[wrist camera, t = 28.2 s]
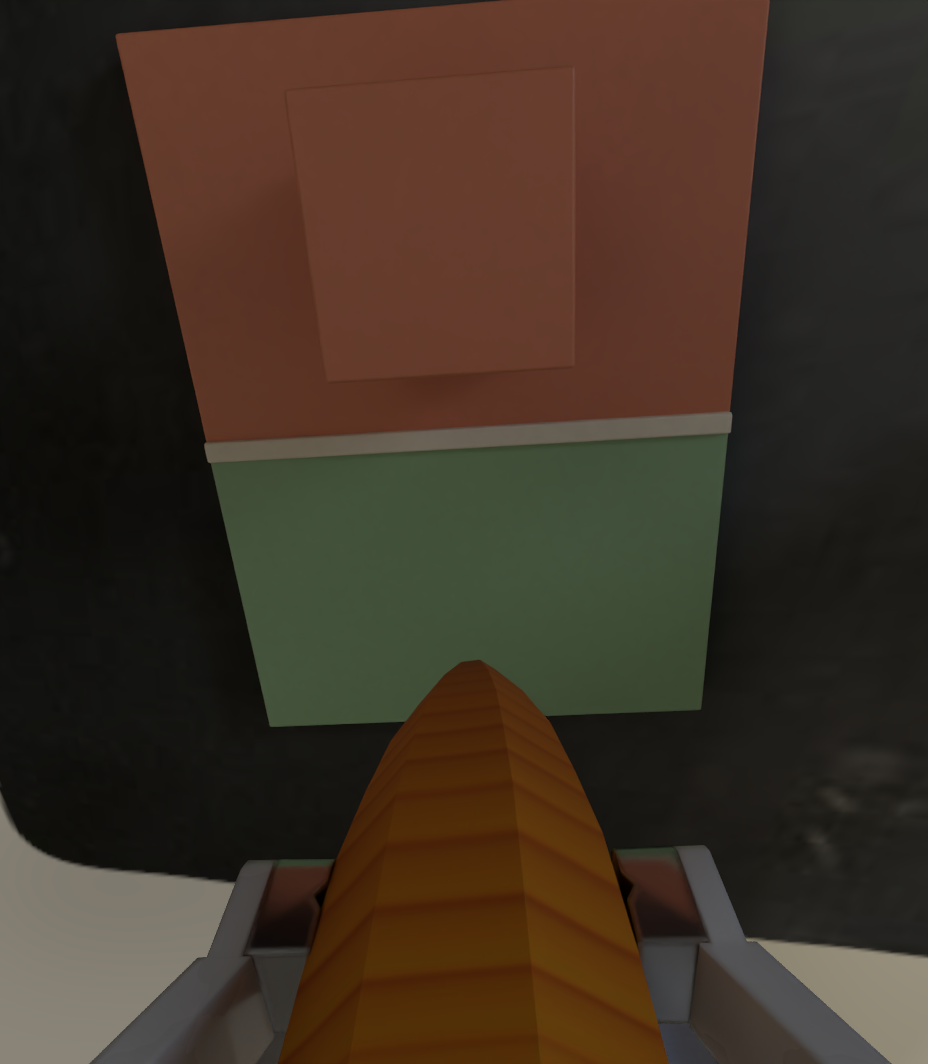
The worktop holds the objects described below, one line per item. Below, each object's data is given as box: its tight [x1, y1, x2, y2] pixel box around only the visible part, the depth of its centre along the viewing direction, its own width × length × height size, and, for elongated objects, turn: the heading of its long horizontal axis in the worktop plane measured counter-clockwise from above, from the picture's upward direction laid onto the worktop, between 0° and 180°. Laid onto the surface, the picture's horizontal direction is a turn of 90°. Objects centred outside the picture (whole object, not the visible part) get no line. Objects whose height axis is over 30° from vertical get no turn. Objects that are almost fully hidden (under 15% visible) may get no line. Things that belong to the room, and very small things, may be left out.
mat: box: [116, 0, 770, 727], centre depth 19 cm, size 20×15×1 cm
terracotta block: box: [284, 66, 576, 383], centre depth 14 cm, size 5×5×5 cm
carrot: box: [278, 660, 669, 1064], centre depth 9 cm, size 5×5×15 cm
